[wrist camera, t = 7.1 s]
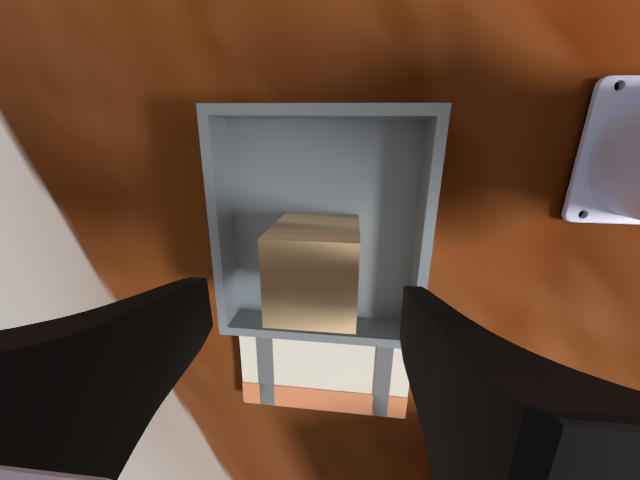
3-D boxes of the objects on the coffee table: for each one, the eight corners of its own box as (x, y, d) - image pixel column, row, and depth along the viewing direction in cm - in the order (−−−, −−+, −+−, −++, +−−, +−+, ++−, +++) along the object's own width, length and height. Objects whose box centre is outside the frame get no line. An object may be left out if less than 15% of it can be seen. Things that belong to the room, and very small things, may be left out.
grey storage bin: (426, 114, 17) (451, 102, 12) (405, 306, 20) (418, 349, 16) (234, 113, 18) (195, 103, 13) (247, 295, 21) (219, 334, 17)
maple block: (355, 282, 17) (355, 334, 13) (287, 279, 18) (262, 327, 13) (358, 214, 16) (360, 243, 11) (285, 212, 16) (257, 239, 12)
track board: (438, 116, 18) (443, 114, 17) (402, 407, 24) (405, 418, 23) (227, 116, 19) (220, 114, 18) (248, 391, 26) (243, 402, 25)
